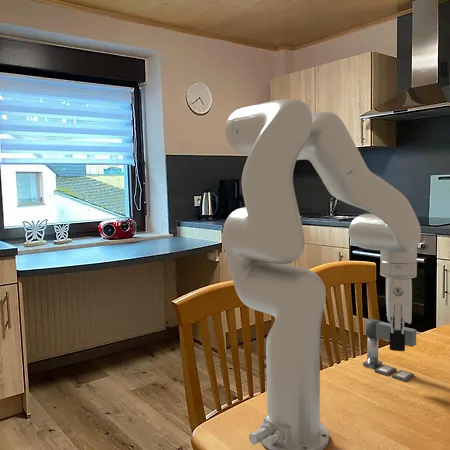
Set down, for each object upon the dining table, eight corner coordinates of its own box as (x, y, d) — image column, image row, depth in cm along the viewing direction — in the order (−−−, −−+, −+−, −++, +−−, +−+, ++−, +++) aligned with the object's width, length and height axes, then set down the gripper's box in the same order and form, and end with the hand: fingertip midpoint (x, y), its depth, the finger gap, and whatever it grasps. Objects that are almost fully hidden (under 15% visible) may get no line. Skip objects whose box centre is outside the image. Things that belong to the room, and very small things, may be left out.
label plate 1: (386, 375, 110) (386, 373, 110) (374, 371, 113) (374, 369, 113) (396, 370, 113) (396, 367, 113) (384, 366, 116) (384, 364, 116)
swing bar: (410, 347, 107) (410, 332, 107) (363, 335, 116) (363, 321, 116) (417, 343, 109) (417, 328, 109) (370, 332, 118) (370, 318, 118)
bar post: (373, 369, 114) (374, 340, 113) (362, 365, 116) (363, 337, 116) (382, 364, 117) (382, 336, 116) (371, 361, 119) (371, 333, 118)
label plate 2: (405, 381, 107) (405, 379, 107) (392, 377, 109) (392, 374, 109) (414, 375, 110) (414, 373, 110) (401, 371, 112) (401, 369, 112)
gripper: (418, 276, 95) (416, 364, 96) (415, 263, 109) (414, 340, 110) (379, 274, 97) (378, 360, 99) (381, 262, 111) (380, 337, 113)
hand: (397, 349), depth 105 cm, fingers closed
